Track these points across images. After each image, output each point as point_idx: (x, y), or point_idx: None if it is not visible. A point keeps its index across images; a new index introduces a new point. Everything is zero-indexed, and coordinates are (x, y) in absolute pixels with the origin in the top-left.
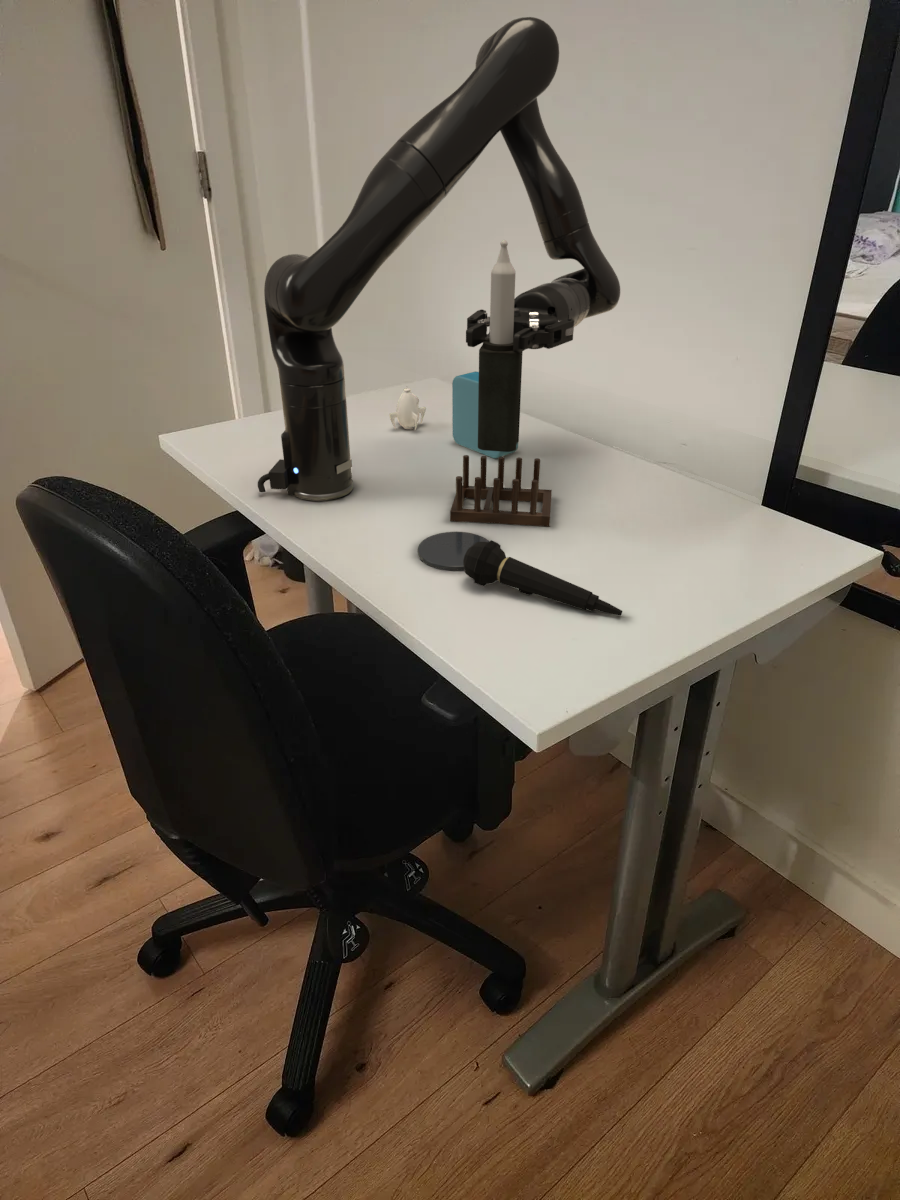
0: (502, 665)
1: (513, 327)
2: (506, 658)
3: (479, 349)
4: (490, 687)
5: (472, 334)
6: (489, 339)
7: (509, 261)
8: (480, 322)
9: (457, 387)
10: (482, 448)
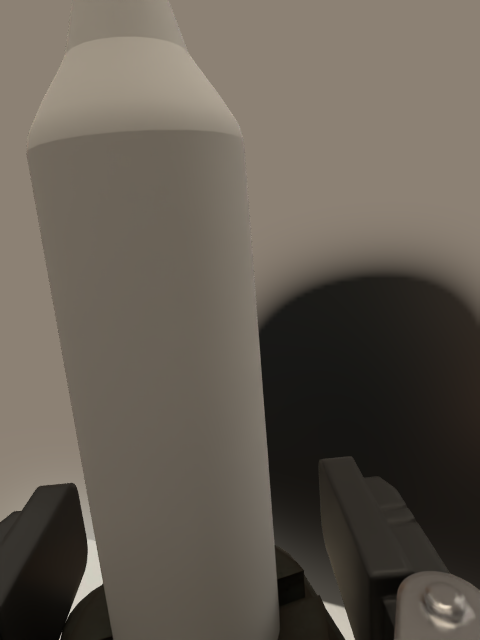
0: (85, 573)
1: (100, 564)
2: (82, 584)
3: (289, 554)
4: (91, 543)
5: (319, 475)
6: (296, 622)
7: (69, 53)
8: (422, 576)
9: None
10: None
